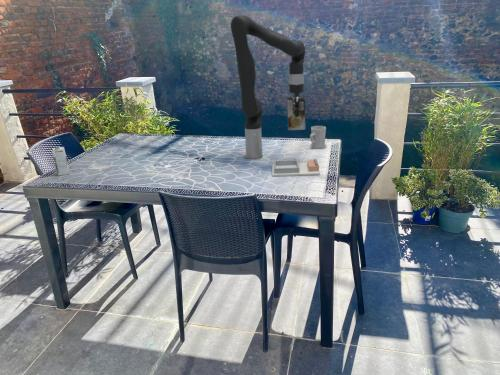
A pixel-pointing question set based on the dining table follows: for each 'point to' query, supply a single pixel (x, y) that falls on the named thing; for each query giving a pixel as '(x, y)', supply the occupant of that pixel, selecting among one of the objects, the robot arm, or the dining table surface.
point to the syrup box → (60, 161)
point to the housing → (291, 169)
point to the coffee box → (293, 121)
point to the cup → (318, 137)
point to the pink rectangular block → (312, 165)
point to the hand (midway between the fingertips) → (296, 115)
